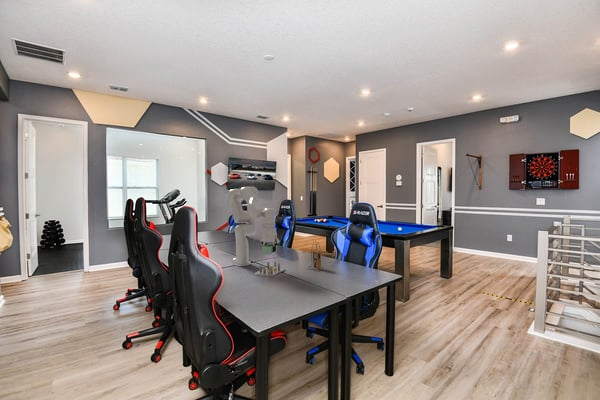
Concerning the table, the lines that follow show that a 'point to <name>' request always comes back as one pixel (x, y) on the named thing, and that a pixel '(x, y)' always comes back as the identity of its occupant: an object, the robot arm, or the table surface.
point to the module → (268, 249)
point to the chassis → (269, 270)
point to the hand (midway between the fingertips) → (269, 251)
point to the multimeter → (316, 258)
